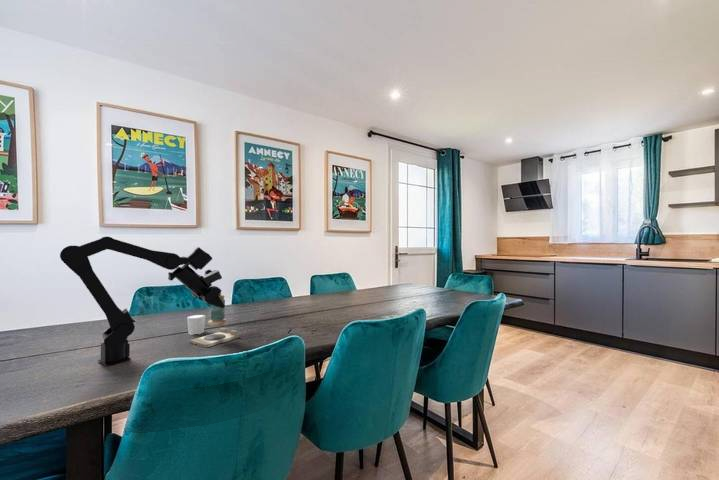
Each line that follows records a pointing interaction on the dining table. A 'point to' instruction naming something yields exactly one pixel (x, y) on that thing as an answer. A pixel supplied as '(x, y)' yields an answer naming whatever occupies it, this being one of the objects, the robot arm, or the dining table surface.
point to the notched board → (215, 338)
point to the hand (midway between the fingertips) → (221, 306)
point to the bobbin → (218, 314)
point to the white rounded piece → (196, 324)
